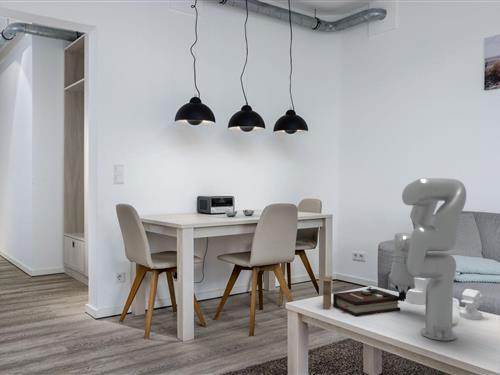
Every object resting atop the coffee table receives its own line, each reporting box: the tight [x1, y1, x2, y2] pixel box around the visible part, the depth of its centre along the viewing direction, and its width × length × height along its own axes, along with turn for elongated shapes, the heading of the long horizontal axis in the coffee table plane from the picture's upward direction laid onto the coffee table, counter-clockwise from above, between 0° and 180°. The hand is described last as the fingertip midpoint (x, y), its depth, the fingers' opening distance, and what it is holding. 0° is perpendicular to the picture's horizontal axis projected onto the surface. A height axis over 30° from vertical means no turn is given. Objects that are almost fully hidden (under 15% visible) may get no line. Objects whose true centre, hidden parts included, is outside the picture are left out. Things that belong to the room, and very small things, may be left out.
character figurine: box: [459, 288, 484, 321], centre depth 193 cm, size 9×10×12 cm
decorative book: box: [332, 286, 402, 317], centre depth 205 cm, size 19×8×30 cm
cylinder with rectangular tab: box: [405, 278, 427, 306], centre depth 218 cm, size 9×9×12 cm
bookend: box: [322, 275, 333, 310], centre depth 208 cm, size 11×3×13 cm, turn 166°
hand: (402, 300), depth 200 cm, fingers closed
